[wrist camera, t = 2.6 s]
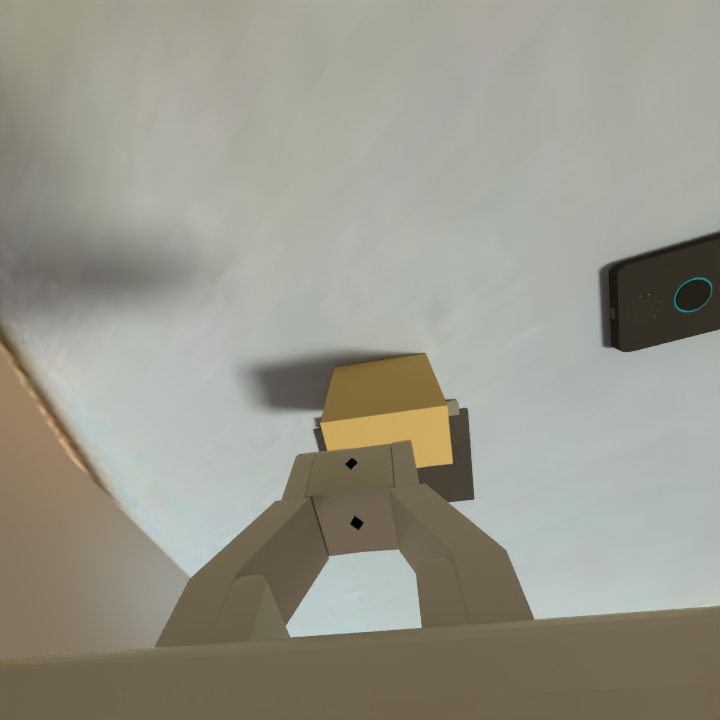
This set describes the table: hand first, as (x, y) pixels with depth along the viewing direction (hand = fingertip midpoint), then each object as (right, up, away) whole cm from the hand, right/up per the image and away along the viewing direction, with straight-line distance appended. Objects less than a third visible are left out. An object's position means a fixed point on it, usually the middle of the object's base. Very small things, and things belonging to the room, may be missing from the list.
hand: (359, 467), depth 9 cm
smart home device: (+32, +10, +20) cm, 39 cm away
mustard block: (+2, +1, +25) cm, 25 cm away
